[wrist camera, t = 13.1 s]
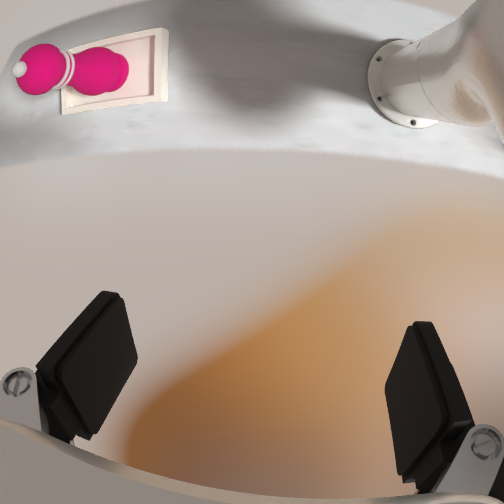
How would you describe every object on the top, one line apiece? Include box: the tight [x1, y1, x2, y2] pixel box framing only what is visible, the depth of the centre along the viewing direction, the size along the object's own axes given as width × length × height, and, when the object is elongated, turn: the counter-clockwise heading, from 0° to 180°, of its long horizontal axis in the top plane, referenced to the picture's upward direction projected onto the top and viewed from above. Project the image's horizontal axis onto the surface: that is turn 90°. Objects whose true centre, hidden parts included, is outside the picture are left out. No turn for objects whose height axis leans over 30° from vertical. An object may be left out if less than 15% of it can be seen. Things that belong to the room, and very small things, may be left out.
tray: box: [61, 27, 169, 115], centre depth 39 cm, size 18×11×2 cm, turn 89°
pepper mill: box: [12, 44, 129, 96], centre depth 30 cm, size 7×7×20 cm
